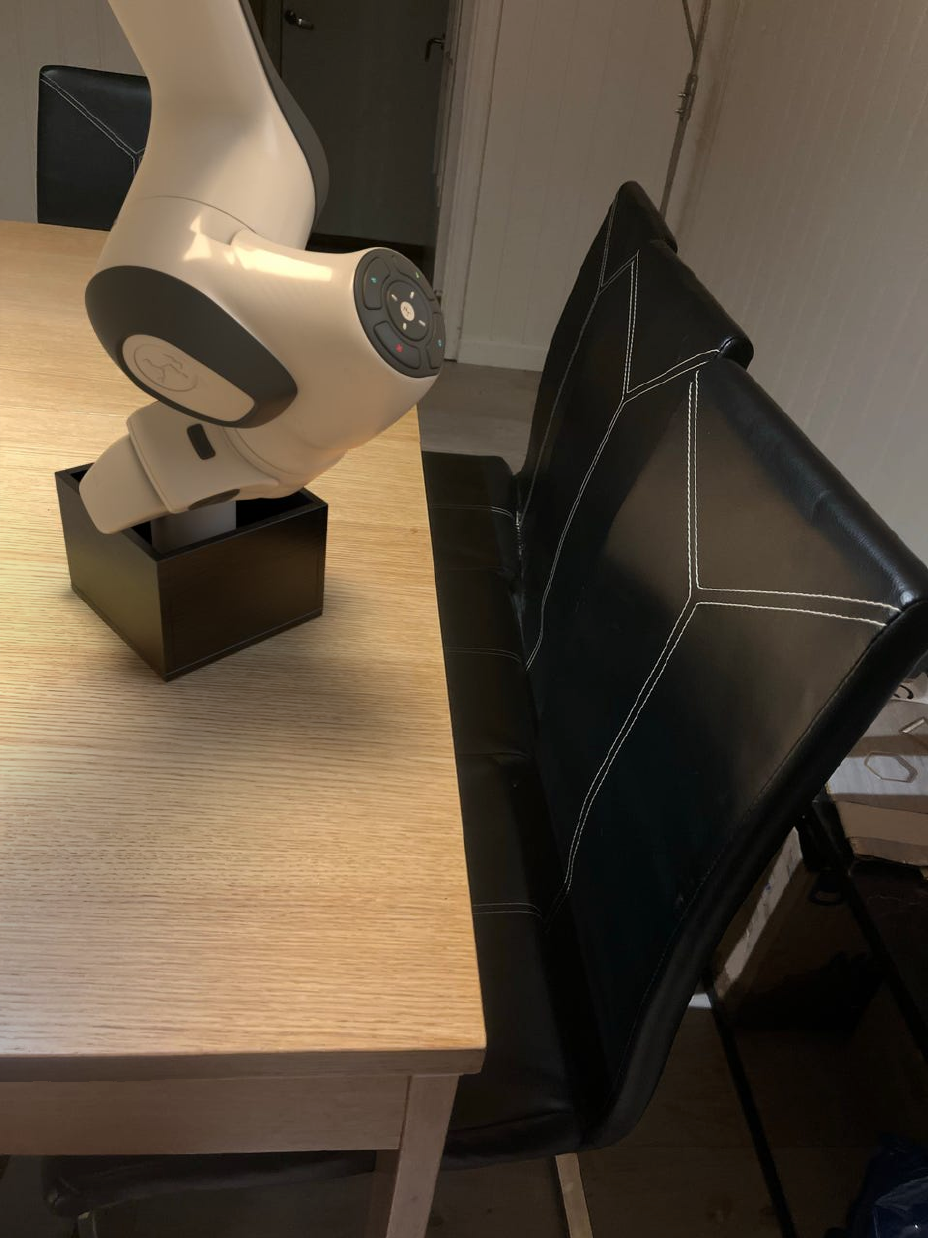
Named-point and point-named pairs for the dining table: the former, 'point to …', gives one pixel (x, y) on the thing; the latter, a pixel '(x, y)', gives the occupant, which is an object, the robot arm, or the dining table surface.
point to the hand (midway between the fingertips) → (187, 495)
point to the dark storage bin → (199, 578)
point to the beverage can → (192, 526)
